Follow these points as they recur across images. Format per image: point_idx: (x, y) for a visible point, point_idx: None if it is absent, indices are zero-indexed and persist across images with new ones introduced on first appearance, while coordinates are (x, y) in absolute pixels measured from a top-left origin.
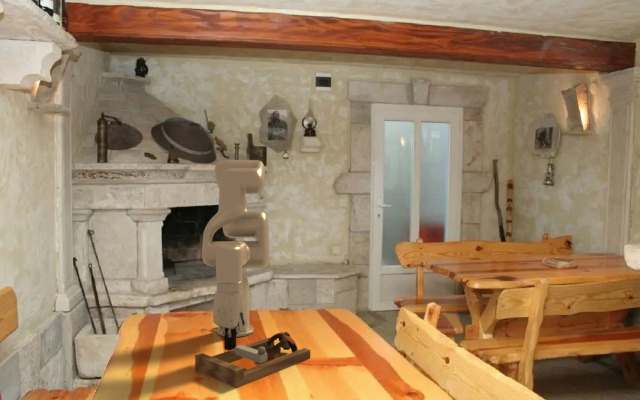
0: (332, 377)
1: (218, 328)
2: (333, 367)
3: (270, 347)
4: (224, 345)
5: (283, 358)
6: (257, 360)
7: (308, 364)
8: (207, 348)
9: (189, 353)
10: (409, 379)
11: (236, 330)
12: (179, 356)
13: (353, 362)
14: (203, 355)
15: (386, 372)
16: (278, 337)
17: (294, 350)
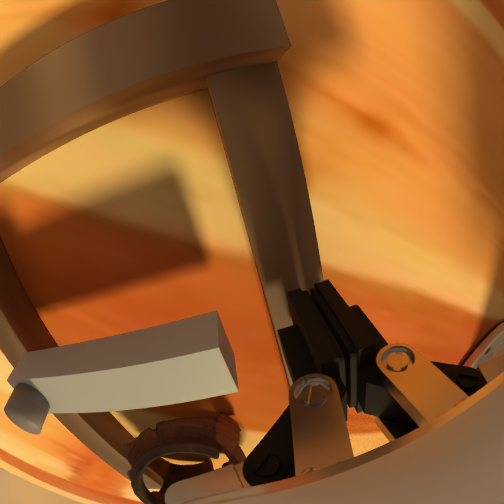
0: (6, 424)
1: None
2: (63, 458)
3: (152, 455)
4: (335, 293)
5: (79, 431)
6: (35, 356)
7: None
8: (478, 239)
9: (482, 145)
10: (6, 465)
11: (228, 487)
12: (475, 91)
13: (87, 483)
14: (213, 29)
15: (32, 472)
16: None
17: (194, 471)
